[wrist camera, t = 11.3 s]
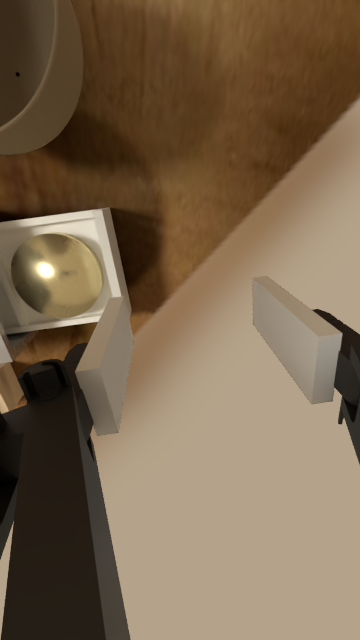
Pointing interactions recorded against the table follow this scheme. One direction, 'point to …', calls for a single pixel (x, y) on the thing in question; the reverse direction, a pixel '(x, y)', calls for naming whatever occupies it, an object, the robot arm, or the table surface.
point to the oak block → (9, 388)
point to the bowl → (37, 72)
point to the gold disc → (57, 274)
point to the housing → (13, 344)
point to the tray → (86, 225)
